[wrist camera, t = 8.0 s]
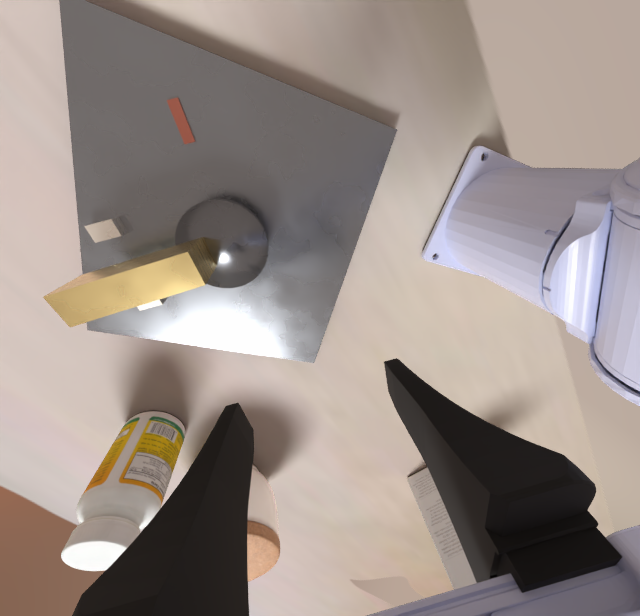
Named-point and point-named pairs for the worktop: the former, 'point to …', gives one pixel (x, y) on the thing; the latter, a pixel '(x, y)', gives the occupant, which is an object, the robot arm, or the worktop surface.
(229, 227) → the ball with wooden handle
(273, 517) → the lidded jar
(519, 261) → the robot arm
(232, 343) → the base plate
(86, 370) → the worktop surface
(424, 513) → the skincare box
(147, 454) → the supplement bottle
